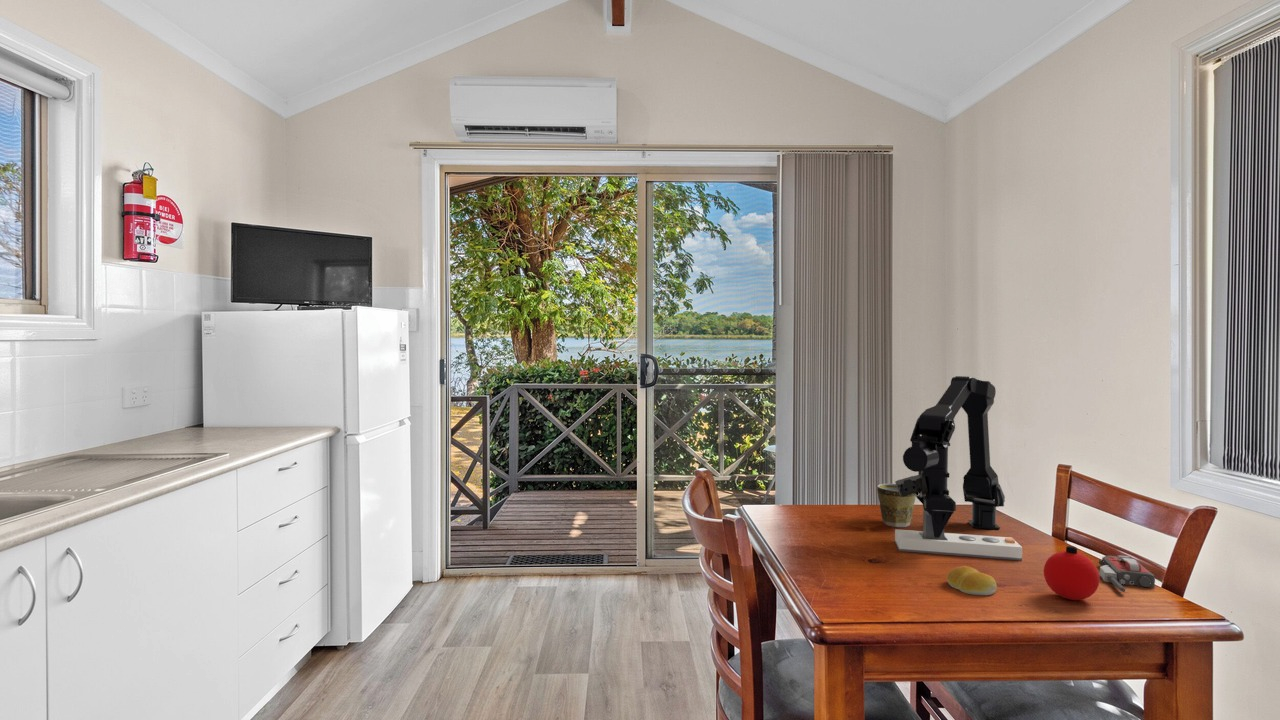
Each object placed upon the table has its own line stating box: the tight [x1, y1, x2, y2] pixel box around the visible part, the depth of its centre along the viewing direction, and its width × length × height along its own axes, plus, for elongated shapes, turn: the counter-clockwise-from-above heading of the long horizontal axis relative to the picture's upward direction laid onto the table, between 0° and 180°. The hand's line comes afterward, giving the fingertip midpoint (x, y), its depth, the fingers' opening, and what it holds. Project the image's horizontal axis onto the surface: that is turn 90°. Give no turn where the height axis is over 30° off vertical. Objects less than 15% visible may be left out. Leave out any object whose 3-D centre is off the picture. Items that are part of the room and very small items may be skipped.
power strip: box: [894, 528, 1023, 561], centre depth 158 cm, size 8×26×4 cm, turn 76°
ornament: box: [1043, 545, 1101, 601], centre depth 128 cm, size 9×9×10 cm
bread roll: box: [946, 565, 998, 596], centre depth 134 cm, size 8×9×4 cm
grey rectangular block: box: [922, 510, 945, 540], centre depth 159 cm, size 4×4×8 cm
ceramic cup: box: [876, 483, 917, 528], centre depth 183 cm, size 13×10×10 cm
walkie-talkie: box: [1098, 554, 1156, 593], centre depth 138 cm, size 9×4×20 cm
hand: (933, 532), depth 159 cm, fingers open, 9 cm apart
